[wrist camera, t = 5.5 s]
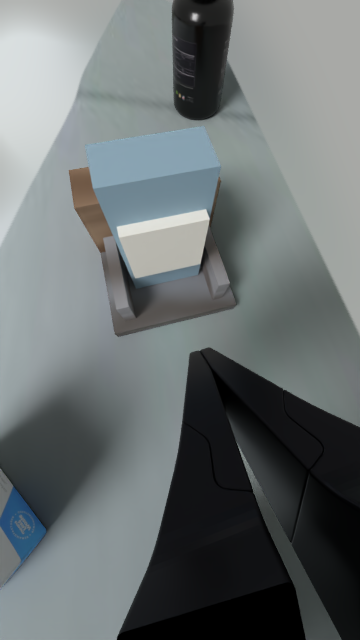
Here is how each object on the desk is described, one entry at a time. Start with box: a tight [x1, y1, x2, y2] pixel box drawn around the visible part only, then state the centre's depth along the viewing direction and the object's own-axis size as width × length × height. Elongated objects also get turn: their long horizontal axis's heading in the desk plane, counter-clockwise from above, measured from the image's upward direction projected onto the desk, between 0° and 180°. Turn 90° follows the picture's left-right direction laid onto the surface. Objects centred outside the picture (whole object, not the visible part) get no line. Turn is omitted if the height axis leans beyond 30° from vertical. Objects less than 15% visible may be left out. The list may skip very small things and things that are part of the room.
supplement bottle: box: [172, 0, 234, 120], centre depth 25 cm, size 7×7×12 cm
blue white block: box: [85, 126, 221, 289], centre depth 16 cm, size 4×6×11 cm, turn 105°
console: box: [69, 167, 236, 337], centre depth 19 cm, size 13×12×8 cm
